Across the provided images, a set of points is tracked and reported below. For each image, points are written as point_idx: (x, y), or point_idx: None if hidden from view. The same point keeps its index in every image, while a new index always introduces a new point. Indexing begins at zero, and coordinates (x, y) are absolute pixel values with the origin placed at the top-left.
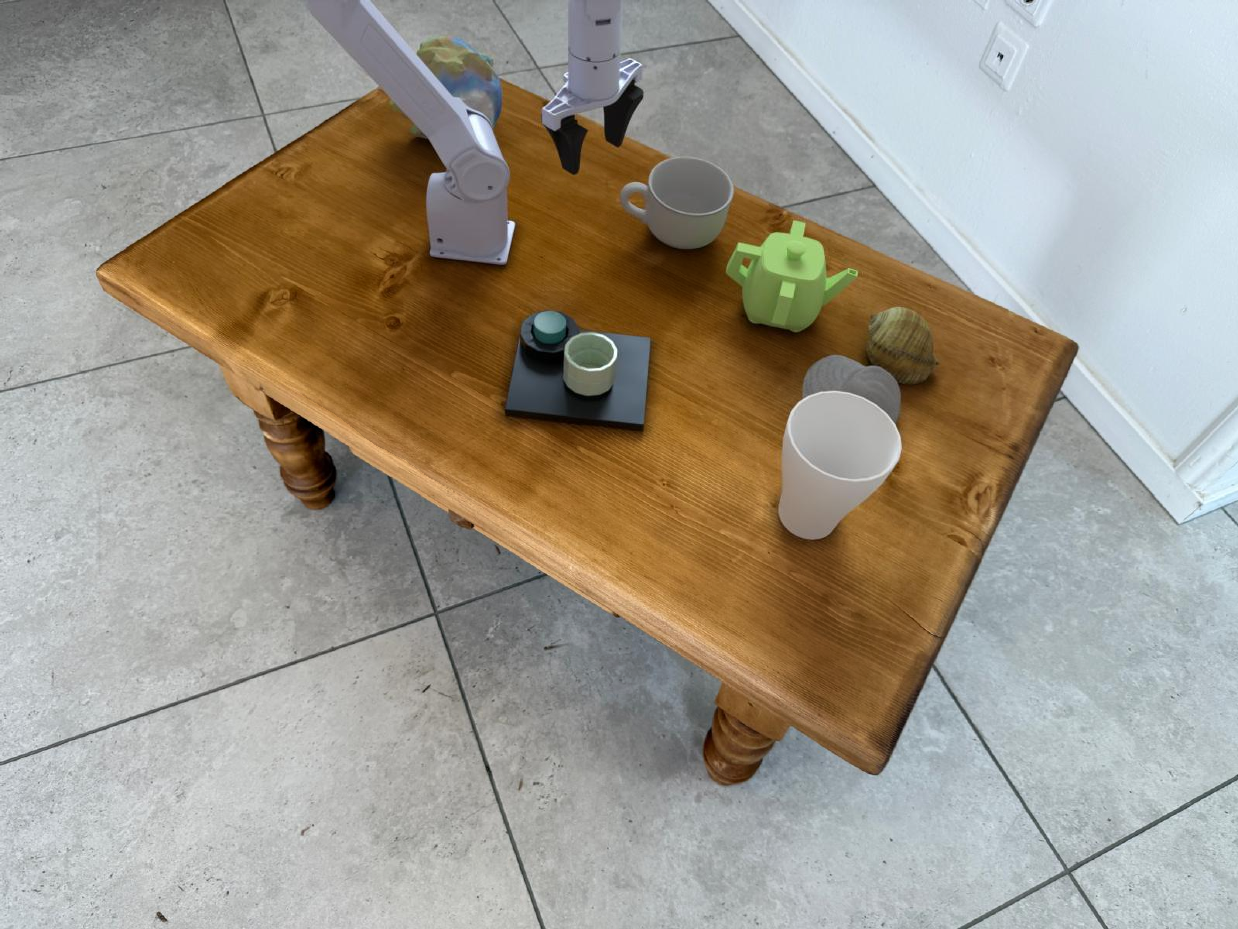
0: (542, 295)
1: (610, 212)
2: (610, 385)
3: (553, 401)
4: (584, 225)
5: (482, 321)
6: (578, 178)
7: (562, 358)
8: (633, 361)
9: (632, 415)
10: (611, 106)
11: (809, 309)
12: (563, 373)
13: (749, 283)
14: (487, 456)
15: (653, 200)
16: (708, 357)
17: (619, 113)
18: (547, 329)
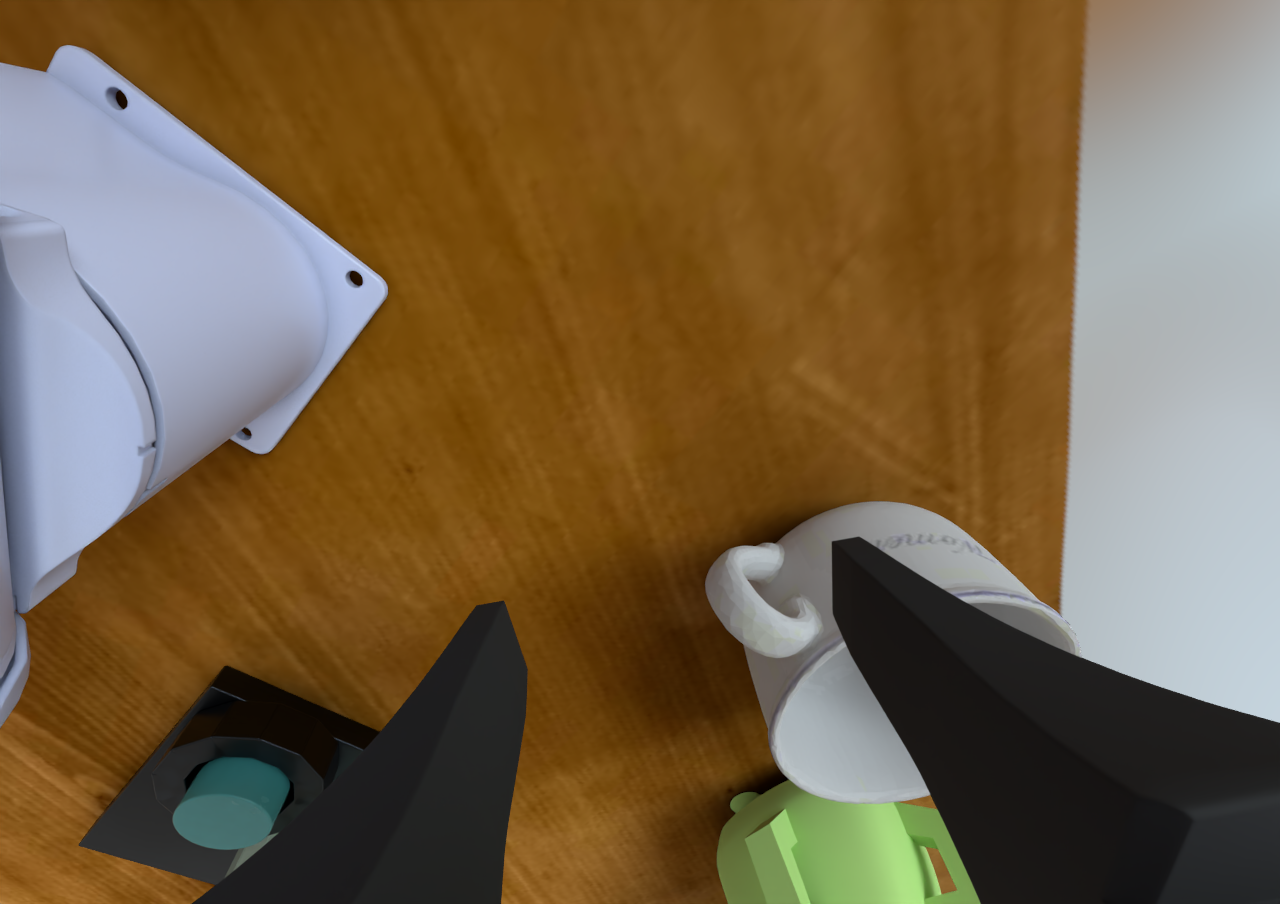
0: (337, 592)
1: (737, 402)
2: None
3: (202, 859)
4: (622, 412)
5: (117, 600)
6: (779, 171)
7: None
8: None
9: None
10: (980, 767)
11: None
12: (234, 858)
13: (751, 895)
14: (29, 869)
15: (775, 685)
16: (591, 835)
17: (959, 801)
18: (204, 837)
